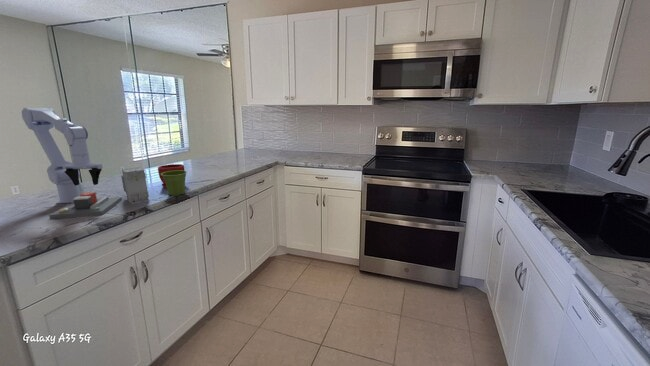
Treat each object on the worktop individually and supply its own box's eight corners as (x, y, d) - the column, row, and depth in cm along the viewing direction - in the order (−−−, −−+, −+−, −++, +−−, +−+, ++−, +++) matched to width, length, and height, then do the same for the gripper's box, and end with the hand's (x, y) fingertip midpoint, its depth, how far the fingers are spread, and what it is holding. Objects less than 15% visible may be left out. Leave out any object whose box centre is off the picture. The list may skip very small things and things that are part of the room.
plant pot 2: (191, 185, 165) (189, 164, 162) (170, 190, 154) (167, 168, 151) (176, 182, 171) (174, 162, 168) (155, 187, 160) (152, 166, 157)
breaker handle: (79, 206, 123) (76, 196, 122) (92, 205, 124) (90, 195, 123) (75, 209, 120) (73, 198, 119) (89, 208, 121) (87, 197, 120)
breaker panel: (77, 203, 133) (76, 197, 132) (121, 200, 137) (120, 194, 137) (49, 218, 114) (48, 212, 113) (102, 214, 119) (101, 208, 118)
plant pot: (160, 193, 148) (157, 172, 145) (184, 189, 156) (182, 169, 153) (168, 198, 140) (164, 176, 137) (192, 194, 148) (190, 172, 145)
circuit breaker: (141, 194, 147) (137, 165, 144) (149, 200, 137) (144, 169, 134) (124, 197, 142) (119, 167, 138) (131, 203, 132) (125, 172, 129)
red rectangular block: (81, 205, 125) (79, 194, 124) (91, 202, 129) (89, 191, 128) (87, 206, 124) (85, 195, 123) (97, 203, 128) (95, 192, 126)
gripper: (103, 153, 130) (109, 182, 133) (68, 153, 128) (74, 183, 131) (94, 155, 123) (100, 185, 126) (56, 156, 121) (63, 187, 124)
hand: (86, 184), depth 128 cm, fingers open, 7 cm apart
